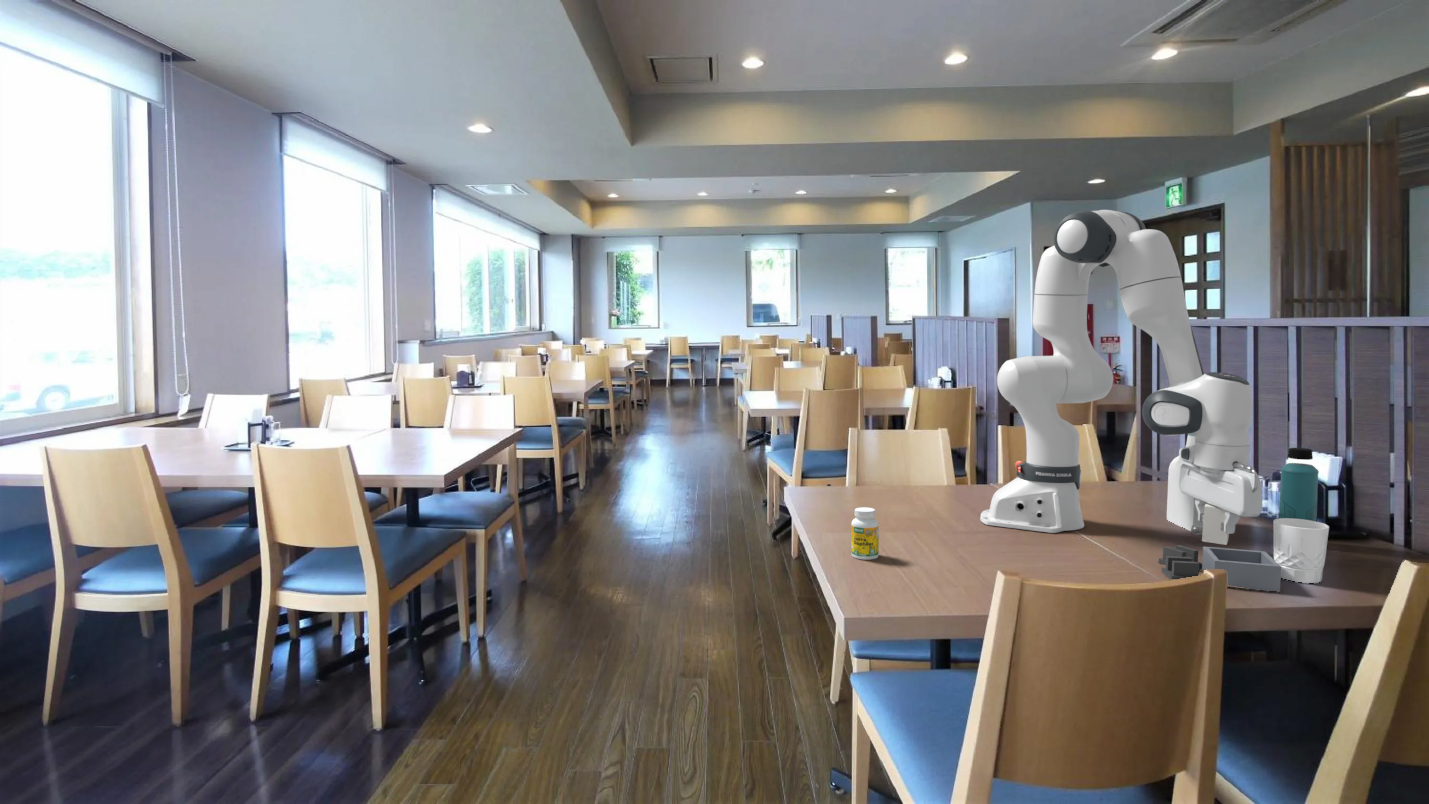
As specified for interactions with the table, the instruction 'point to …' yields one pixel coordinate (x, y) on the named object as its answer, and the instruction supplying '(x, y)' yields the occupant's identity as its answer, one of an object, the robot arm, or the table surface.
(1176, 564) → the clip
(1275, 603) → the table surface
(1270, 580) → the gray square tray
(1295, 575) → the white cup
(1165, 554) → the clip
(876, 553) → the supplement bottle
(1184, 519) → the soap bottle
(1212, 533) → the block
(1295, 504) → the beverage bottle
